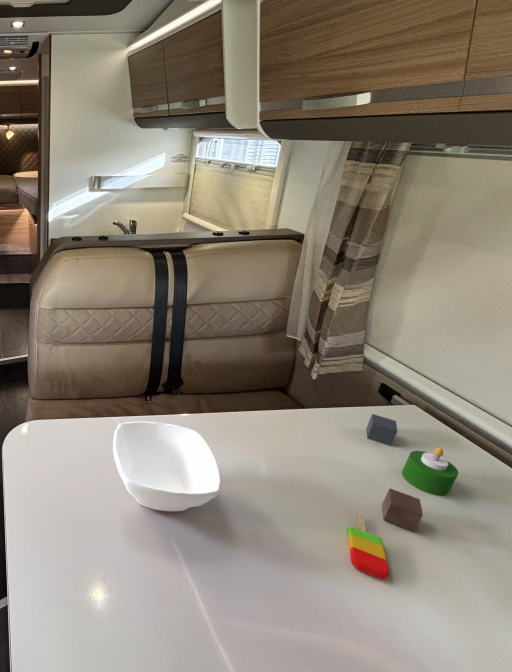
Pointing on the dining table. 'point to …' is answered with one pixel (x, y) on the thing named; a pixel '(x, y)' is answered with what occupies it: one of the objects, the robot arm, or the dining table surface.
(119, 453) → the bowl
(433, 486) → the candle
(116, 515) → the dining table surface
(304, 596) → the dining table surface
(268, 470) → the dining table surface
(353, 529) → the popsicle
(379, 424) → the slate block
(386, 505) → the walnut block
